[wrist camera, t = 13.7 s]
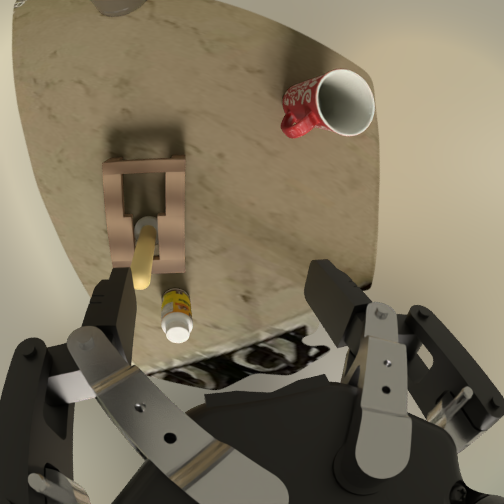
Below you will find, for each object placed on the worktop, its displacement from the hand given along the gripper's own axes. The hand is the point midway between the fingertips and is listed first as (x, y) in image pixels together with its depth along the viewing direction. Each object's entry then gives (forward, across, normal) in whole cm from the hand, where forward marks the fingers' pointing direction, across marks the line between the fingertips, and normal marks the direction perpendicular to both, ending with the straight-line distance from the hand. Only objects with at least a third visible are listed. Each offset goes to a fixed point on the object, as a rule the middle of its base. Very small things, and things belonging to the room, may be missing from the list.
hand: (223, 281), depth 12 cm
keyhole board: (+33, +7, +8) cm, 35 cm away
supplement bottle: (+33, +3, +26) cm, 42 cm away
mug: (+33, -16, -10) cm, 38 cm away
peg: (+33, +7, +12) cm, 36 cm away
